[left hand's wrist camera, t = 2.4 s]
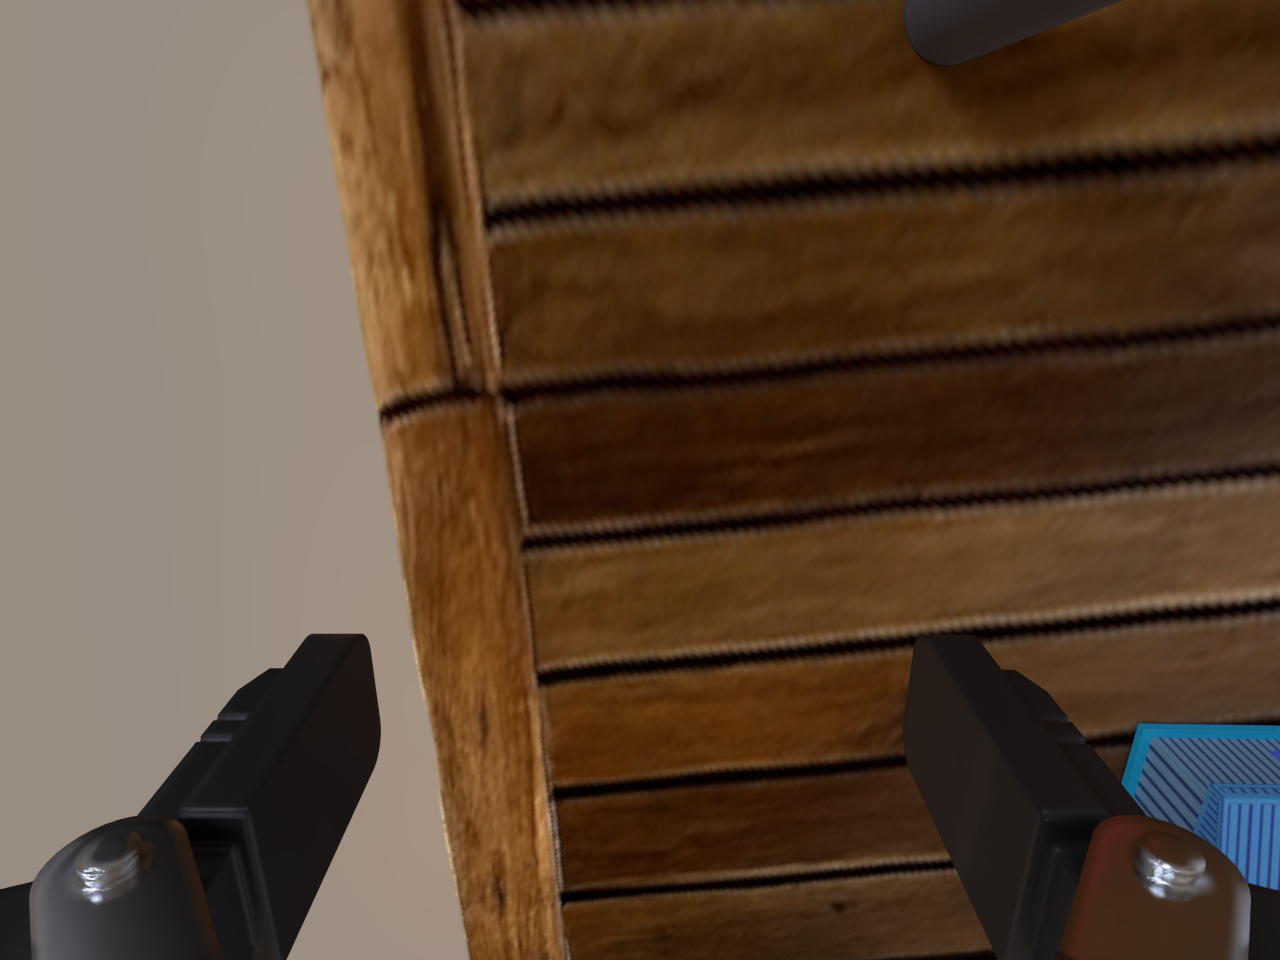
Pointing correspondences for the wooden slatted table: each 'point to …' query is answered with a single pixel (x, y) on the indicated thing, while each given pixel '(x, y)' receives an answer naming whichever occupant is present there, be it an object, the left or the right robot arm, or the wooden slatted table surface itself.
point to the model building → (1214, 788)
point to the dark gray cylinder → (984, 24)
